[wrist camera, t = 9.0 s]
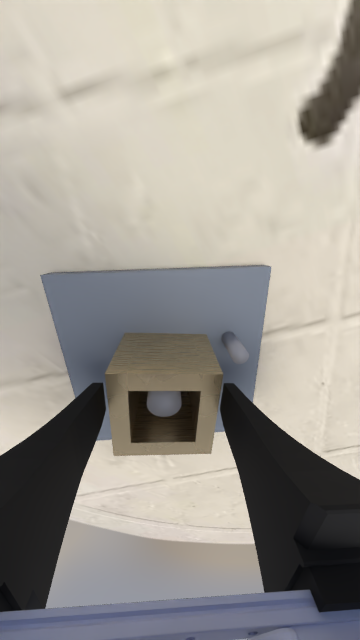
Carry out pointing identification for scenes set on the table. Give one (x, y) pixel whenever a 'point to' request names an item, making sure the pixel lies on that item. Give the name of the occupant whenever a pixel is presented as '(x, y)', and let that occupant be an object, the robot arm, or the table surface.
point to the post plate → (159, 321)
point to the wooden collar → (163, 375)
